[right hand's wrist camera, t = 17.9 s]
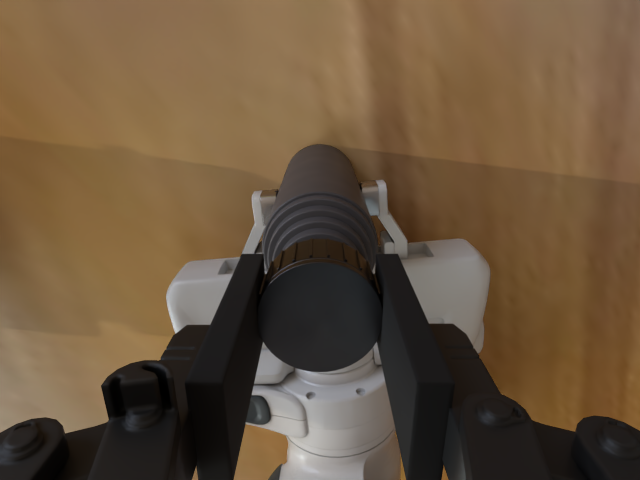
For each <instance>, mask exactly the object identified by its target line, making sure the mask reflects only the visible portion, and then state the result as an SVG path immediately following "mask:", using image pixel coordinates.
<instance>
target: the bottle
mask: <svg viewBox="0 0 640 480" xmlns="http://www.w3.org/2000/svg"><path fill="white" fill-rule="evenodd" d="M311 238H313V239H327V238H329V240H334V241H338V242H341V243H343V242H344V243H345V244H346V245H348V246H350V247H351V248H353V249H354V250H358V251H359V253H360V254H361V255H362V256H363V257H364V259H365V260H366V261H369V263H370V267H371V269H372V271H373V268H374V265H375V261H376V254H377V251H378V240H377V234H376V230H375V227H374V224H373V221H372V219H371V216H370V213H369V211H368V208H367V205H366V203H365V200H364V197H363V194H362V192H361V189H360V186H359V184H358V181H357V178H356V175H355V173H354V170H353V167H352V165H351V163H350V161H349V159H348V158H347V157H346V156H345V155H344V154H343V153H342V152H341V151H340V150H338V149H336V148H334V147H332V146H328V145H322V144H317V145H311V146H308V147H306V148H304V149H302V150H300V151H299V152H298V153H297V154H296V155H295V156H294V157H293V158H292V159H291V161H290V163H289V165H288V167H287V170H286V173H285V175H284V178H283V181H282V184H281V186H280V189H279V192H278V194H277V197H276V200H275V202H274V205H273V208H272V211H271V213H270V216H269V219H268V221H267V224H266V227H265V229H264V233H263V238H262V252H263V254H264V262H265V266H266V269H267V271H268V269H269V266H270V262H271V261H274V259H275V258H276V257H277V256H278V255H279V254H280V253H281V251H282V250H283V251H284V250H285V249H287V248H288V247H290V246H292V245H294V243H296V242H297V243H299V242H302V241H306V240H310V239H311Z"/></svg>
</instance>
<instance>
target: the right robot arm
mask: <svg viewBox="0 0 640 480" xmlns="http://www.w3.org/2000/svg"><path fill="white" fill-rule="evenodd" d="M264 274H265V266H264V254H242V255H241V257H240V259H239V261H238V264H237V266H236V268H235V270H234V273H233V275H232V277H231V279H230V282H229V284H228V286H227V288H226V291H225V293H224V295H223V297H222V300H221V302H220V304H219V306H218V309H217V311H216V313H215V315H214V318H213V320H212V322H211V324H210V325H186V326H185V327H183V328H182V329H181V330H180V331H178V332H177V333H176V334H175V335H173V337H172V339H171V341H170V342H169V344H168V346H167V349H166V350H165V351H164V353H163V355H162V356H161V360H159V361H157V360H144V361H139V362H135V363H131V364H128V365H126V366H124V367H122V368H119V369H118V370H116V371H115V372H113V373H112V374H111V375H109V376H108V377H107V378H106V380H105V381H104V383H103V384H102V385H101V388H102V392H103V396H104V400H105V405H106V409H107V413H108V417H109V421H108V422H107V423H104V424H101V425H98V426H95V427H91V428H86V429H82V430H78V431H74V432H70V433H66V434H65V432H64V429H63V426H62V425H61V424H60V423H59V422H58V421H57V420H55V419H51V418H36V419H30V420H27V421H24V422H21V423H18V424H16V425H14V426H12V427H10V428H8V429H6V430H5V431H3V432H1V433H0V480H192V477H193V474H194V471H195V468H196V466H197V473H198V480H233V479H234V475H235V470H236V465H237V461H238V456H239V451H240V447H241V442H242V437H243V433H244V428H245V424H246V419H247V414H248V410H249V405H250V400H251V396H252V391H253V386H254V382H255V377H256V372H257V368H258V363H259V359H260V354H261V349H262V345H263V341H262V339H261V336H260V334H259V331H258V321H257V306H258V302H259V298H260V296H258V295H259V291H260V288H261V284H262V281H263V277H264ZM375 275H376V278H377V282H378V285H379V289H380V292H381V296H380V299H381V303H382V307H383V316H382V330H381V334H380V336H379V338H378V340H377V346H378V350H379V355H380V360H381V364H382V369H383V374H384V378H385V383H386V388H387V392H388V397H389V402H390V406H391V411H392V415H393V420H394V425H395V429H396V434H397V439H398V443H399V448H400V453H401V457H402V462H403V467H404V471H405V476H406V480H441V478H442V471H443V464H444V467H445V470H446V473H447V476H448V479H449V480H640V431H639V430H637V429H635V428H633V427H632V426H630V425H628V424H626V423H624V422H621V421H618V420H615V419H612V418H609V417H602V416H591V417H586V418H583V419H582V420H581V421H580V422H579V423H578V424H577V428H576V431H575V432H573V431H569V430H565V429H561V428H556V427H552V426H548V425H544V424H541V423H538V422H535V421H533V420H531V418H530V416H529V415H528V413H527V412H526V410H525V409H524V408H523V407H522V406H520V405H519V404H518V403H517V402H516V401H514V400H512V399H510V398H508V397H506V396H504V395H501V393H500V392H499V390H498V388H497V386H496V385H495V383H494V381H493V380H492V378H491V376H490V374H489V373H488V371H487V369H486V367H485V366H484V364H483V362H482V360H481V359H479V355H478V353H477V352H476V350H475V349H474V348H473V345H472V343H471V341H470V339H469V338H468V336H467V334H466V333H464V332H463V331H462V330H461V329H459V328H458V327H457V326H456V325H454V324H429V323H428V320H427V318H426V316H425V314H424V311H423V309H422V307H421V305H420V302H419V300H418V298H417V296H416V293H415V291H414V289H413V287H412V284H411V282H410V280H409V278H408V276H407V273H406V271H405V269H404V267H403V264H402V262H401V260H400V258H399V255H398V254H376V261H375Z"/></svg>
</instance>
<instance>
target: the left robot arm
mask: <svg viewBox="0 0 640 480" xmlns="http://www.w3.org/2000/svg"><path fill="white" fill-rule="evenodd" d="M360 189H361V192H362V194H363V197H364V200H365V203H366V205H367V208H368V211H369V213H370V216H374V215H377V217H378V218H379V220H380V221H381V223H382V224H383V225H384V227H385V228H386V230H387V231H381V232H380V245H378V251H377V254H398V255H399V258H400V260H401V262H402V264H403V267H404V269H405V271H406V273H407V276H408V278H409V280H410V282H411V284H412V287H413V289H414V291H415V293H416V296H417V298H418V300H419V302H420V305H421V307H422V309H423V311H424V314H425V316H426V318H427V320H428V323H429V324H454V325H456V326H457V327H458V328H459V329H461V330H462V331H463V332H464V333H466V334H467V336H468V338H469V339H470V341H471V343H472V345H473V348H474V349H475V350H476V352H477V353H478V354H479V353H480V352H481V350H482V348H483V342H484V322H483V316H484V312H485V307H486V303H487V297H488V291H489V284H490V267H489V265H488V262H487V261H486V260H485V258H484V257H483V256H482V254H481V253H480V252H479V251H478V250H477V249H476V248H475V247H474V246H472V245H471V244H470V243H469V242H468V241H466V240H465V239H447V240H435V241H423V242H412V243H407V239H406V237H405V235H404V233H403V232H402V230H401V228H400V227H399V225H398V224H397V222H396V221H395V219H394V218H393V216H392V215H391V213H390V212H389V210H388V202H387V187H386V183H385V181H384V180H373V181H364V182H360ZM278 192H279V191H278V189H276V190H263V191H262V190H260V191H254V193H253V195H252V207H253V213H254V220H255V224H254V226H253V228H252V231H251V233H250V235H249V238H248V240H247V243H246V245H245V247H244V250H243V252H242V254H263V252H262V241H261V242H260V243H259V241H260V238H261V236H262V234H263V231H264V229H265V227H266V224H267V221H268V219H269V216H270V213H271V211H272V208H273V205H274V202H275V200H276V197H277V194H278ZM239 259H240V257H234V258H222V259H209V260H197V261H190V262H188V263H186V264H185V265H184V266H183V268H182V269H181V270H180V271H179V272H178V274H177V275H176V276H175V278H174V279H173V281H172V282H171V284H170V286H169V288H168V291H167V295H166V301H167V306H168V311H169V314H170V318H171V321H172V325H173V328H174V331H175V334H176V333H177V332H178V331H180V330H181V329H182V328H183V327H185V326H186V325H210V324H211V322H212V320H213V318H214V315H215V313H216V311H217V309H218V306H219V304H220V302H221V300H222V297H223V295H224V293H225V291H226V288H227V286H228V284H229V282H230V279H231V277H232V275H233V273H234V270H235V268H236V266H237V264H238V261H239ZM264 266H265V262H264ZM265 274H267V269H266V266H265ZM373 274H375V265H374V268H373ZM246 424H248V425H253V426H257V427H261V428H265V429H269V430H272V431H275V432H278V433H281V434H284V435H286V437H287V440H288V450H287V462H286V463H285V464H281V465H280V466H278V468H277V469H276V470H275V471H274V472H273V473H272V475H271V476H270V478H269V479H268V480H400V472H401V465H400V449H399V444H398V441H397V438H396V436H395V431H396V429H395V425H394V420H393V415H392V411H391V406H390V402H389V397H388V392H387V388H386V383H385V378H384V374H383V369H382V364H381V360H380V355H379V350H378V346H377V342H376V344H375V345H374V347H373V348H372V349H371V350H370V351H369V353H368V354H366V355H365V356H364V357H363V358H362V359H360V360H359V361H358V362H356V363H354V364H352V365H350V366H348V367H345V368H343V369H339V370H336V371H330V372H310V371H304V370H300V369H297V368H294V367H292V366H289V365H288V364H286V363H284V362H282V361H281V360H279V359H278V358H277V357H276V356H274V355H273V354H272V353H271V352H270V351H269V349H268V348H267V347H266V345H265V344H264V342H263V345H262V349H261V354H260V359H259V363H258V368H257V372H256V377H255V382H254V386H253V391H252V396H251V400H250V405H249V410H248V414H247V419H246Z"/></svg>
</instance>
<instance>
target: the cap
mask: <svg viewBox="0 0 640 480" xmlns="http://www.w3.org/2000/svg"><path fill="white" fill-rule="evenodd" d="M258 296H260V298H259V302H258V306H257V321H258V331H259V334H260V336H261V339H262V341H263V342H264V344H265V345H266V347H267V348H268V349H269V351H270V352H271V353H272V354H273V355H274V356H276V357H277V358H278V359H279V360H281V361H282V362H284V363H286V364H288V365H289V366H292V367H294V368H297V369H300V370H304V371H310V372H330V371H336V370H339V369H343V368H345V367H348V366H350V365H352V364H354V363H356V362H358V361H359V360H360V359H362V358H363V357H364V356H365V355H366V354H368V353H369V351H370V350H371V349H372V348H373V347H374V345H375V344H376V342H377V340H378V338H379V336H380V334H381V330H382V316H383V307H382V303H381V299H380V296H381V292H380V289H379V285H378V282H377V278H376V275H375V274H373V271H372V269H371V267H370V263H369V261H366V260H365V259H364V257H363V256H362V255H361V254H360V253H359V251H358V250H354V249H353V248H351V247H350V246H348V245H346V244H345V243H344V242H343V243H341V242H338V241H334V240H329V238H327V239H313V238H311V239H310V240H306V241H302V242H299V243H297V242H296V243H294V245H292V246H290V247H288V248H287V249H285V250H284V251H283V250H282V251H281V253H280V254H279V255H278V256H277V257H276V258H275V259H274V261H271V262H270V266H269V269H268V271H267V274H264V277H263V281H262V284H261V288H260V291H259V295H258Z"/></svg>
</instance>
